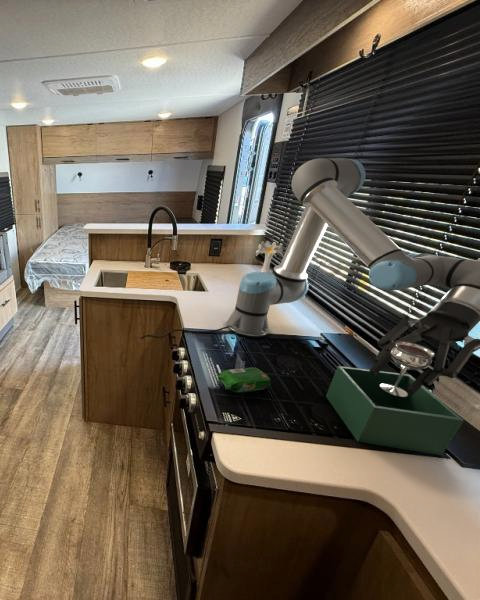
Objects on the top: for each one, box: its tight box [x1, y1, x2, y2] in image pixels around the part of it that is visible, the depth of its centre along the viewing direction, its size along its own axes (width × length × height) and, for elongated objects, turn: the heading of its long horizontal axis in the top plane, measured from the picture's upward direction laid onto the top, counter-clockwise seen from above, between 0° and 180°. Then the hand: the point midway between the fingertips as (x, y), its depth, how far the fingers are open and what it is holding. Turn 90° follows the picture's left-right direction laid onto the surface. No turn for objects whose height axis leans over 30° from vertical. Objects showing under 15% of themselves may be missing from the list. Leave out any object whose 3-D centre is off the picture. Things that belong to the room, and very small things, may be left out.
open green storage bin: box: [325, 365, 465, 456], centre depth 78 cm, size 17×17×11 cm
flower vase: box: [255, 240, 284, 273], centre depth 169 cm, size 13×18×25 cm
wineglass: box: [380, 341, 436, 397], centre depth 74 cm, size 7×7×12 cm
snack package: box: [217, 366, 272, 394], centre depth 92 cm, size 7×16×5 cm, turn 99°
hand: (390, 382), depth 73 cm, fingers closed on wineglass, 7 cm apart
